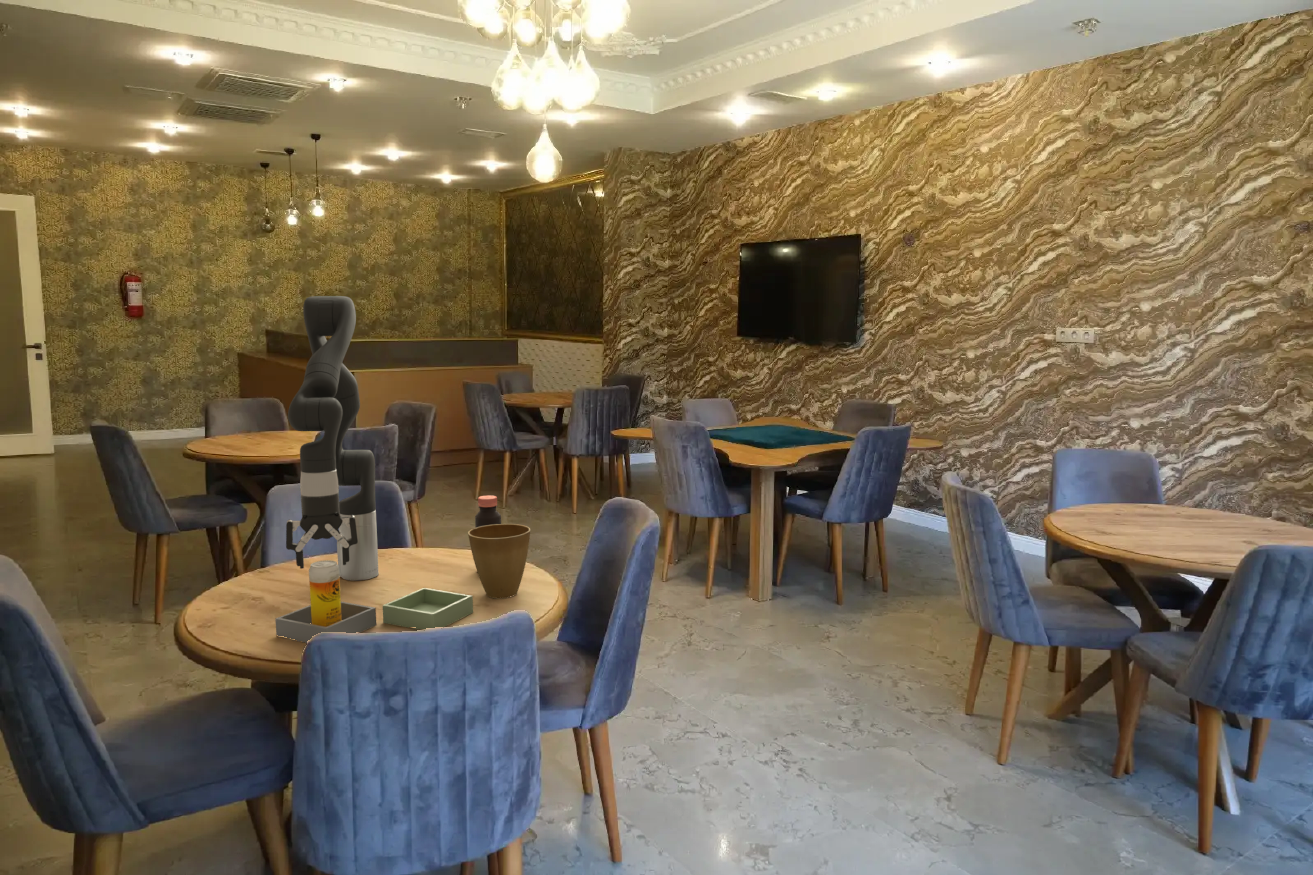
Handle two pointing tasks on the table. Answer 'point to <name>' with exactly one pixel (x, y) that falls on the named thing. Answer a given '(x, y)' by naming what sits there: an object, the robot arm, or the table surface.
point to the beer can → (325, 593)
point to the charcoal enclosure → (352, 622)
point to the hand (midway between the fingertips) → (323, 565)
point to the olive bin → (427, 609)
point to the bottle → (487, 511)
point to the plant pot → (500, 557)
